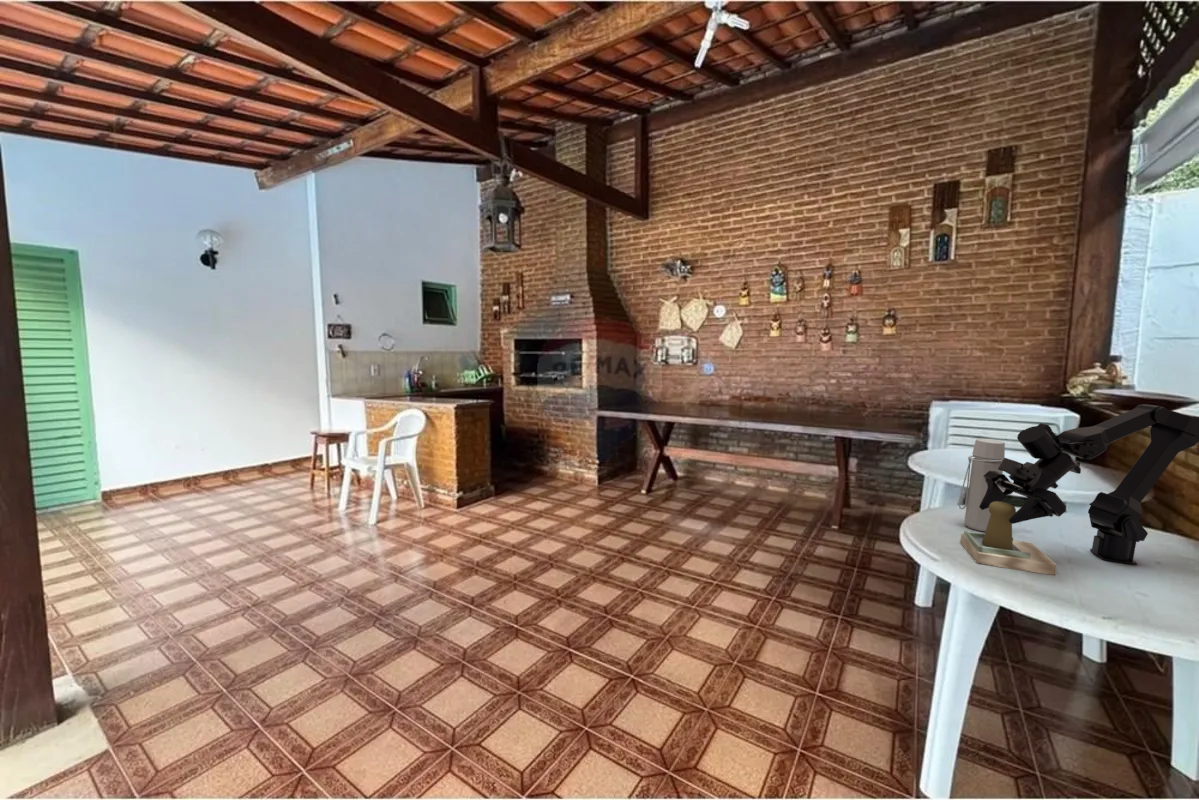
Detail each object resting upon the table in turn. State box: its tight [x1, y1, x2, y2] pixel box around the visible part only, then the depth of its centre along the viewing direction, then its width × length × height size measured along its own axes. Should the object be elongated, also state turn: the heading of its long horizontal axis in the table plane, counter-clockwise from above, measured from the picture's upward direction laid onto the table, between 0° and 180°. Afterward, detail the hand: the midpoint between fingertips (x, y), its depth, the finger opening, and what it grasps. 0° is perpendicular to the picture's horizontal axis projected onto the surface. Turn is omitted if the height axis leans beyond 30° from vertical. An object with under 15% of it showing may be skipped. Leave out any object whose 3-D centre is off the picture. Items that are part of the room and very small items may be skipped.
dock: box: [959, 530, 1058, 576], centre depth 126 cm, size 15×13×4 cm
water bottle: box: [958, 438, 1006, 533], centre depth 144 cm, size 9×8×25 cm
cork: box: [982, 501, 1017, 550], centre depth 125 cm, size 6×6×11 cm
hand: (994, 515), depth 125 cm, fingers open, 9 cm apart
